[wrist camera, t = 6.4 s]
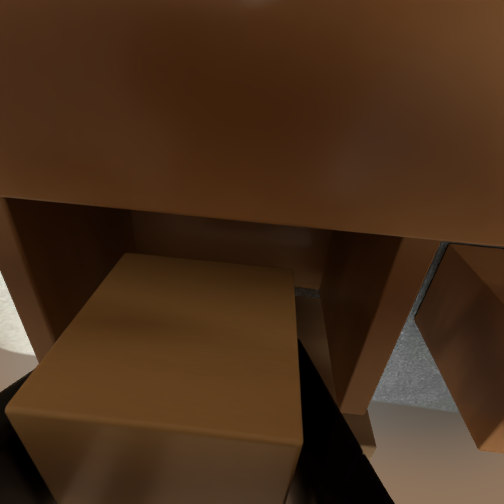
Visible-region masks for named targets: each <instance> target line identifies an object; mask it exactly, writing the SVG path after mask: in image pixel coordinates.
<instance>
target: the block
mask: <svg viewBox="0 0 504 504" xmlns="http://www.w3.org/2000/svg"><path fill="white" fill-rule="evenodd" d="M5 414H6V415H7V417H8V419H9V421H10V422H11V424H12V426H13V428H14V429H15V431H16V433H17V435H18V436H19V438H20V440H21V442H22V443H23V445H24V447H25V449H26V450H27V452H28V454H29V456H30V457H31V459H32V461H33V463H34V464H35V466H36V468H37V470H38V471H39V473H40V475H41V477H42V478H43V480H44V482H45V484H46V486H47V487H48V489H49V491H50V493H51V494H52V496H53V498H54V500H55V501H56V503H57V504H286V500H287V497H288V493H289V490H290V487H291V483H292V480H293V476H294V473H295V469H296V466H297V462H298V459H299V455H300V452H301V448H302V445H303V427H302V410H301V393H300V376H299V359H298V342H297V324H296V307H295V290H294V273H293V271H292V270H291V269H284V268H274V267H264V266H255V265H245V264H235V263H225V262H215V261H205V260H195V259H186V258H176V257H166V256H156V255H146V254H136V253H125V254H124V255H123V256H122V257H121V258H120V260H119V261H118V262H117V264H116V265H115V266H114V268H113V269H112V270H111V271H110V273H109V274H108V275H107V277H106V278H105V279H104V280H103V282H102V283H101V284H100V286H99V287H98V288H97V289H96V291H95V292H94V293H93V295H92V296H91V297H90V298H89V300H88V301H87V302H86V304H85V305H84V306H83V307H82V309H81V310H80V311H79V313H78V314H77V315H76V316H75V318H74V319H73V320H72V322H71V323H70V324H69V326H68V327H67V328H66V329H65V331H64V332H63V333H62V335H61V336H60V337H59V338H58V340H57V341H56V342H55V344H54V345H53V346H52V347H51V349H50V350H49V351H48V353H47V354H46V355H45V356H44V358H43V359H42V360H41V362H40V363H39V364H38V365H37V367H36V368H35V369H34V371H33V372H32V373H31V374H30V376H29V377H28V378H27V380H26V381H25V382H24V384H23V385H22V386H21V387H20V389H19V390H18V391H17V393H16V394H15V395H14V396H13V398H12V399H11V400H10V402H9V403H8V404H7V406H6V408H5Z"/></svg>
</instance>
